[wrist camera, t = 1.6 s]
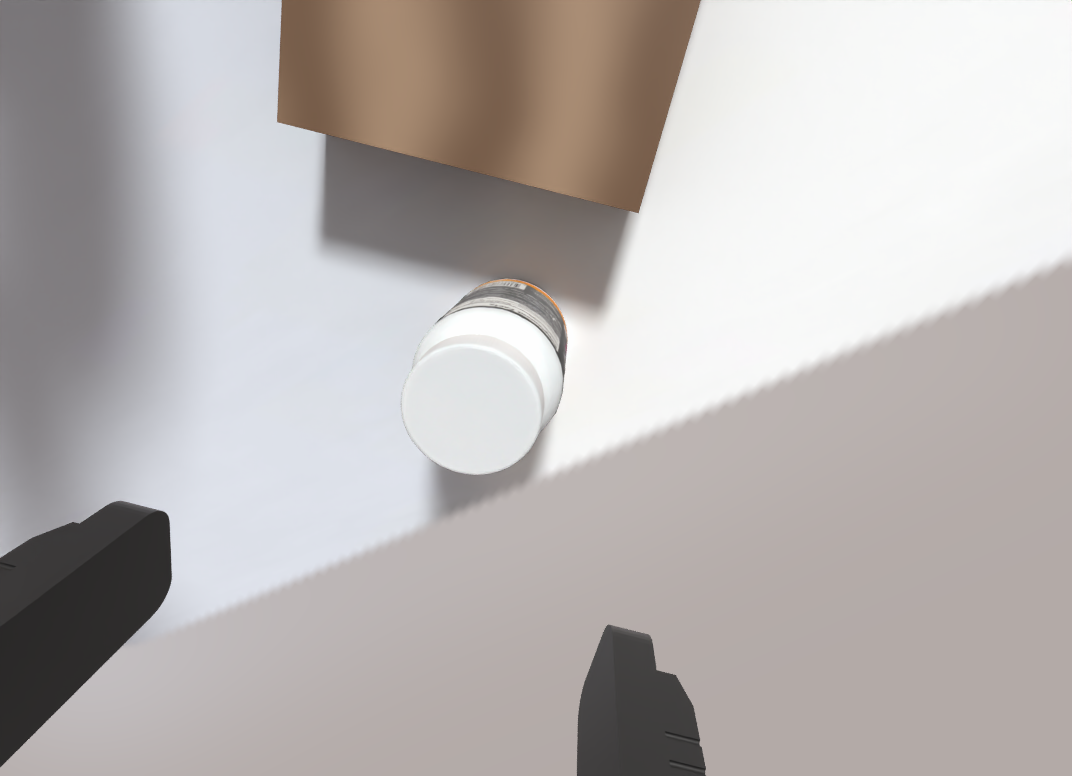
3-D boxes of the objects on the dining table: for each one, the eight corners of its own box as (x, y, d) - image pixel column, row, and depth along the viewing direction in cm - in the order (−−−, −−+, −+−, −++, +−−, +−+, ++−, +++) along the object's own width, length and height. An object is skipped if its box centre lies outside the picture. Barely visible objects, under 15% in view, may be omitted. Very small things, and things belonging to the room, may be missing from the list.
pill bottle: (530, 405, 28) (503, 518, 18) (434, 348, 27) (355, 436, 18) (590, 315, 26) (593, 391, 16) (488, 251, 25) (431, 294, 16)
